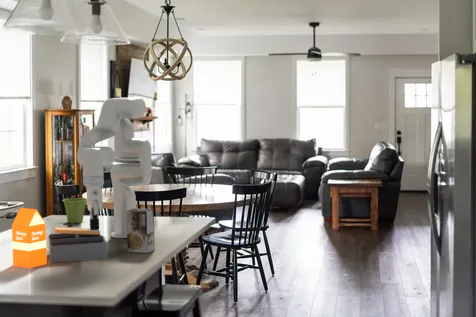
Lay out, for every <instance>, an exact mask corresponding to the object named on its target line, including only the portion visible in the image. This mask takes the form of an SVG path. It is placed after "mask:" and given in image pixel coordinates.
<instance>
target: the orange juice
mask: <svg viewBox="0 0 476 317" xmlns="http://www.w3.org/2000/svg"><path fill="white" fill-rule="evenodd" d="M46 233H47V230H46V222H45V221H44V219H43V217H42V216H41V215H40V213H39V211H38V210H37V209H34V208H23V207H19V210H18V212H17V214H16V216H15V218H14V220H13V222H12V224H11V236H12V237H11V238H12V239H11V240H12V243H11V244H12V265H13V266H14V265H16V266H15V267H22V268H28V269H32V267H33V268H36V266H37V267H40V266H44V265H47V262H48V260H47V258H48V257H47V236H46V235H47V234H46Z"/></svg>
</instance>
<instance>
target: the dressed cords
mask: <svg viewBox="0 0 476 317" xmlns="http://www.w3.org/2000/svg"><path fill="white" fill-rule="evenodd" d="M100 235H101V234H100ZM100 235H94V234H79V237H83V238H76V237H75V234H70V233H50V234H49V235H48V240H49V239H54V240H51V241H50V244H51V245H62V244H76V243H91V242H104V238H105V237H104V236H103V235H102V236H100ZM94 236H98V237H94ZM103 237H104V238H103ZM64 238H69V239H64Z"/></svg>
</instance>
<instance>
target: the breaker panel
mask: <svg viewBox="0 0 476 317" xmlns="http://www.w3.org/2000/svg"><path fill="white" fill-rule="evenodd" d="M100 236H103V235H102V234H100ZM75 237H76V238H83V237H79V234H75ZM94 237H98V236H94ZM103 238H104V242H91V243H76V244H62V245H51V244H50V241H51V240H54V239H49V238H48V256H49V261H50V263H52V264H53V263H54V264H55V263H67V262H78V261H91V260H95V261H96V260H105V259H106V260H107V259H108V243H107V241H106V238H105V236H103ZM64 239H69V238H64Z"/></svg>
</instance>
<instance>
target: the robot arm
mask: <svg viewBox="0 0 476 317" xmlns="http://www.w3.org/2000/svg"><path fill="white" fill-rule="evenodd" d="M146 110H147V106H146V101H145V100H144V99H143V98H142V97H113V98H108V99H105V100H104V101H103V103H102V106H101V110H100V113H99V116H98V120H97V124H96V125H95V126H94V127H92V128H91V129H89V130H88V131H86V133H85V134H84V135H83V136H82V138H81V139H80V141H79V145H78V148H77V152H76V160H77V163H78V164H79V165H81V166H82V184H83V186H86V199H87V201H86V204H87V210H88V211H89V218H90V219H89V228H90V229H91V230H99V231H100V219H99V212H103V211H104V206H103V190H102V189H103V188H102V185H104V184H105V183H104V182H105V180H104V177H105V176H104V174H105V173H104V167H108V166H111V165H113V163H114V162H115V160H116V159H117V160H121V161H139V163H138V162H137V163H127V162H126V163H125V162H123V163H117V164H116V163H115V164H114V165H113V166H112V167H111V168H110V180H111V184H112V196H113V227H114V229H113V230H114V231H113V232H111V233H110V237H112V238H115V239H116V238H117V239H127V222H126V211H128V210H131V209H137V203H136V202H137V201H136V199H137V197H136V193H135V191H134V190H133V189H132V187H131V186H147V185H149V184H150V183H151V181H152V146H151V142H150V141H149V140H148V139H147V138H143V137H138V138H136V137H135V126H134V125H133V123H132V121H131V120H130V119H139V118H140V119H141V118H142V117H144V116H145V114H146ZM110 138H113V140H114V142H113V143H114V145H113V146H114V148H112V147H109V146H98V145H97V146H95V145H96V144H97V143H100V142H103V141H107V140H109V139H110Z"/></svg>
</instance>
